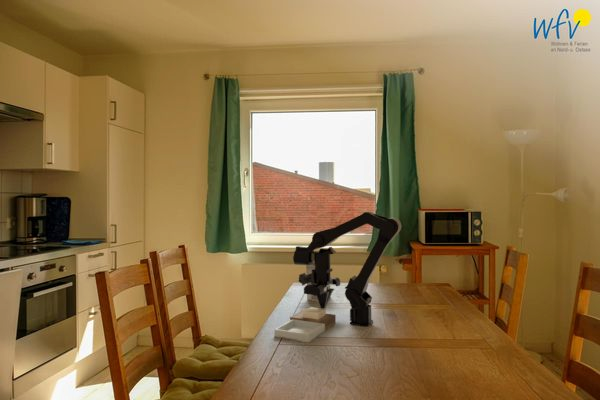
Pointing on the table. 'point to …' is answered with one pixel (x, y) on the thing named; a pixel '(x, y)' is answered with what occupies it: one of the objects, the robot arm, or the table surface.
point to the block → (314, 313)
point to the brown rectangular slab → (327, 319)
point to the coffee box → (309, 270)
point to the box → (299, 330)
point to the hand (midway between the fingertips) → (323, 309)
